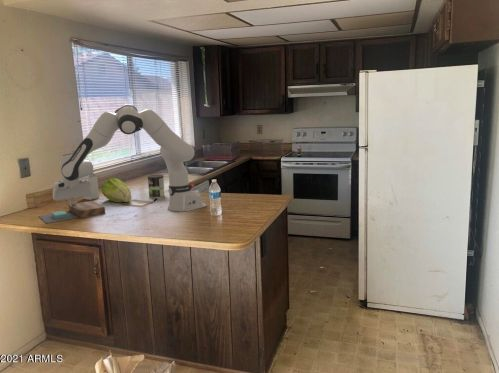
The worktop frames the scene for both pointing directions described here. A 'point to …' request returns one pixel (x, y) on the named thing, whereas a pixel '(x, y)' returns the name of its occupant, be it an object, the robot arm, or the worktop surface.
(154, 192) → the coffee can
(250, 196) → the worktop surface
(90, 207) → the board
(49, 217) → the grey mat
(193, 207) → the robot arm
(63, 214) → the teal block
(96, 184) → the milk carton
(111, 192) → the lettuce
